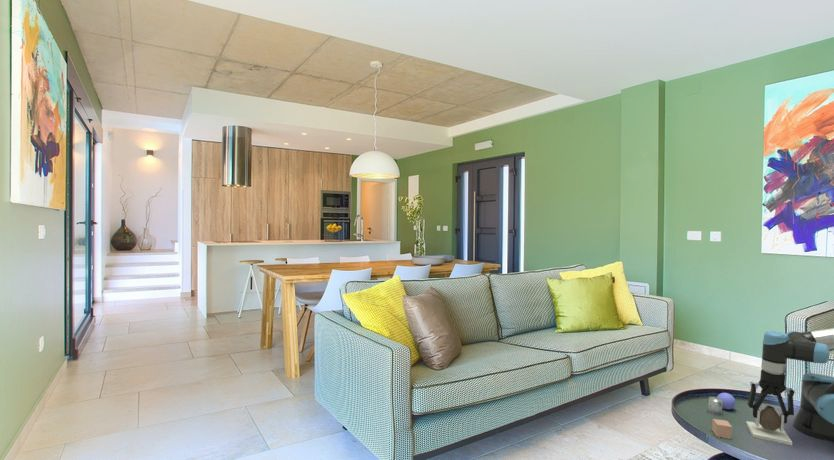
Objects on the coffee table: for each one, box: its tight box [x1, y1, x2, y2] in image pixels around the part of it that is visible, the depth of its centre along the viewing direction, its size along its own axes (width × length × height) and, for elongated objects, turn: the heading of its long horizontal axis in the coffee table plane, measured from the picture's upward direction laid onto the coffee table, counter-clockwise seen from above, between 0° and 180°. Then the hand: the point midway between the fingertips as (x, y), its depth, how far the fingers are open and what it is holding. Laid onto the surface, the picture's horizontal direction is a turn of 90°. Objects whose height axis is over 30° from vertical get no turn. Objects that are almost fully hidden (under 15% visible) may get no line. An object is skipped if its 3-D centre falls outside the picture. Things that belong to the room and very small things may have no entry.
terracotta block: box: [711, 418, 733, 440], centre depth 174 cm, size 5×5×5 cm
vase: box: [759, 405, 781, 431], centre depth 175 cm, size 7×7×9 cm
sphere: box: [716, 392, 737, 410], centre depth 197 cm, size 7×7×7 cm
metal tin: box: [707, 396, 723, 416], centre depth 193 cm, size 5×5×6 cm
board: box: [745, 420, 793, 446], centre depth 175 cm, size 12×12×1 cm
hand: (768, 427), depth 175 cm, fingers closed on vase, 7 cm apart
